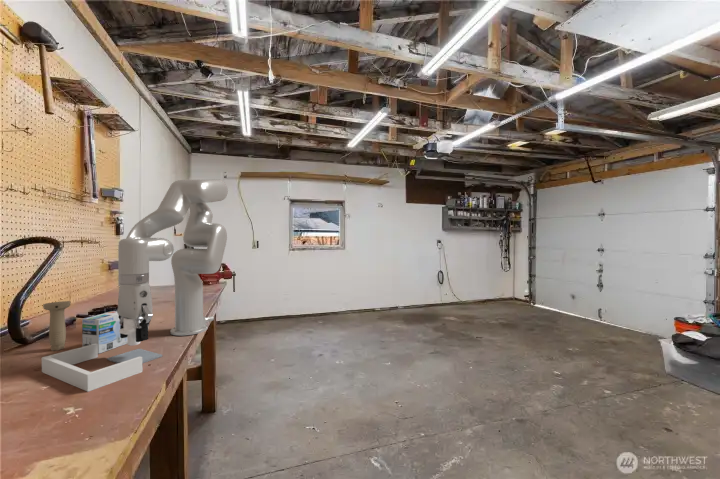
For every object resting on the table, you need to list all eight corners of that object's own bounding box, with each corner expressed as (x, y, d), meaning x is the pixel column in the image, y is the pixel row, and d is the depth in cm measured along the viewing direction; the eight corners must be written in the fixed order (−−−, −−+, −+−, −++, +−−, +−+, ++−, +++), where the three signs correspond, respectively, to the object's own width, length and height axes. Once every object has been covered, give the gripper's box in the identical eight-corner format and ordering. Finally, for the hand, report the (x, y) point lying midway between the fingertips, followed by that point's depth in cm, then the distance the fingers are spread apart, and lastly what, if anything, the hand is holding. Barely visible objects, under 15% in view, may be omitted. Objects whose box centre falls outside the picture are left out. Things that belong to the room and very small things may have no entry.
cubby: (95, 356, 99) (95, 343, 99) (142, 371, 88) (142, 357, 88) (41, 372, 88) (41, 357, 88) (87, 391, 77) (87, 375, 77)
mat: (139, 349, 104) (139, 348, 104) (162, 356, 99) (162, 354, 99) (107, 359, 96) (107, 358, 96) (130, 367, 91) (130, 365, 91)
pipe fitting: (148, 344, 97) (148, 317, 97) (118, 349, 93) (118, 321, 93) (148, 339, 102) (148, 313, 102) (120, 342, 98) (120, 316, 98)
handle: (70, 349, 105) (70, 303, 105) (43, 353, 101) (42, 305, 101) (71, 345, 109) (70, 300, 109) (44, 349, 105) (43, 303, 104)
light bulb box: (98, 354, 101) (98, 319, 101) (81, 352, 102) (80, 318, 102) (129, 343, 111) (129, 311, 111) (113, 341, 113) (112, 310, 112)
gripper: (164, 280, 97) (164, 339, 97) (130, 276, 104) (130, 331, 105) (137, 283, 90) (138, 347, 90) (103, 279, 98) (104, 338, 98)
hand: (134, 338), depth 97 cm, fingers closed on pipe fitting, 7 cm apart
